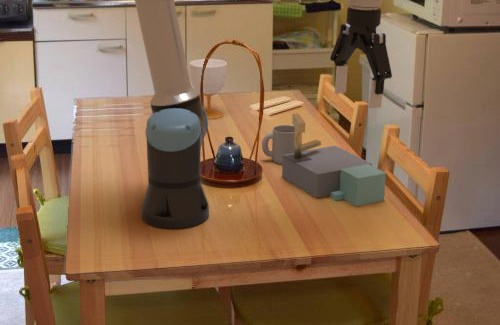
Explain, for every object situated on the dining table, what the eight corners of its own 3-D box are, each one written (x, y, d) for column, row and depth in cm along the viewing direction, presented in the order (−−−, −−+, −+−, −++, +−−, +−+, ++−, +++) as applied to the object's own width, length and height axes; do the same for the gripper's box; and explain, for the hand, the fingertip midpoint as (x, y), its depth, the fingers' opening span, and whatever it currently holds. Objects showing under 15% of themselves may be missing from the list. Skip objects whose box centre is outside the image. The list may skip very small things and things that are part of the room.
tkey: (327, 161, 199) (329, 122, 196) (297, 162, 198) (298, 123, 195) (319, 148, 208) (320, 111, 205) (290, 150, 207) (290, 112, 204)
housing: (314, 198, 193) (315, 174, 191) (280, 177, 206) (280, 154, 204) (370, 186, 201) (372, 163, 198) (334, 167, 214) (335, 144, 212)
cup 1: (231, 111, 263) (231, 59, 257) (221, 121, 252) (221, 68, 246) (196, 109, 265) (195, 57, 260) (185, 118, 255) (184, 65, 249)
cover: (347, 208, 187) (348, 180, 185) (330, 198, 193) (331, 170, 191) (384, 200, 192) (385, 173, 190) (366, 190, 198) (368, 164, 196)
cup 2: (300, 164, 215) (301, 132, 212) (263, 165, 214) (263, 133, 211) (296, 155, 222) (297, 124, 219) (260, 156, 221) (260, 125, 218)
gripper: (414, 15, 170) (404, 112, 177) (345, -2, 191) (339, 85, 198) (385, 17, 167) (377, 116, 174) (319, -1, 187) (313, 88, 194)
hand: (357, 100), depth 186 cm, fingers open, 13 cm apart
